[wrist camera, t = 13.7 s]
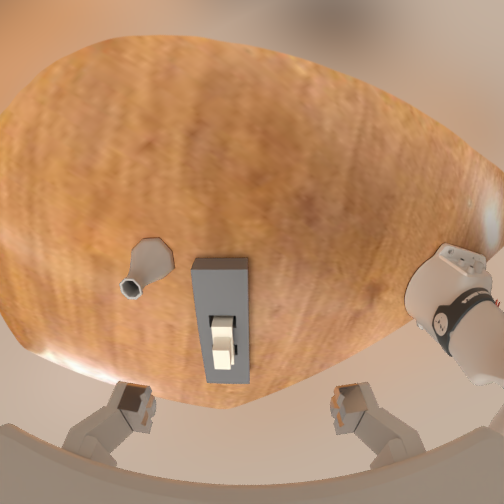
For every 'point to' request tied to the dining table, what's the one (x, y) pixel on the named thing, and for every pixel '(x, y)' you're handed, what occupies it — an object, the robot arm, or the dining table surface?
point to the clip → (223, 342)
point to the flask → (146, 266)
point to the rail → (223, 312)
